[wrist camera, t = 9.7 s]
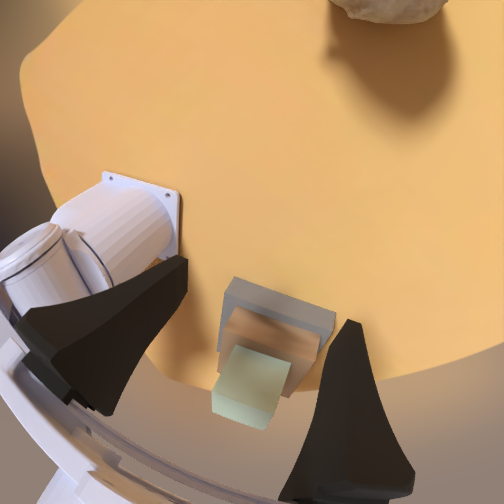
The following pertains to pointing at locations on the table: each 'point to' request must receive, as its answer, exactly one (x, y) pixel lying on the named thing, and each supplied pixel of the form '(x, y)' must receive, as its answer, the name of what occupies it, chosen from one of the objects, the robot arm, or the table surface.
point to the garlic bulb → (391, 10)
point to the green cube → (249, 387)
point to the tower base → (276, 309)
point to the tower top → (270, 343)
